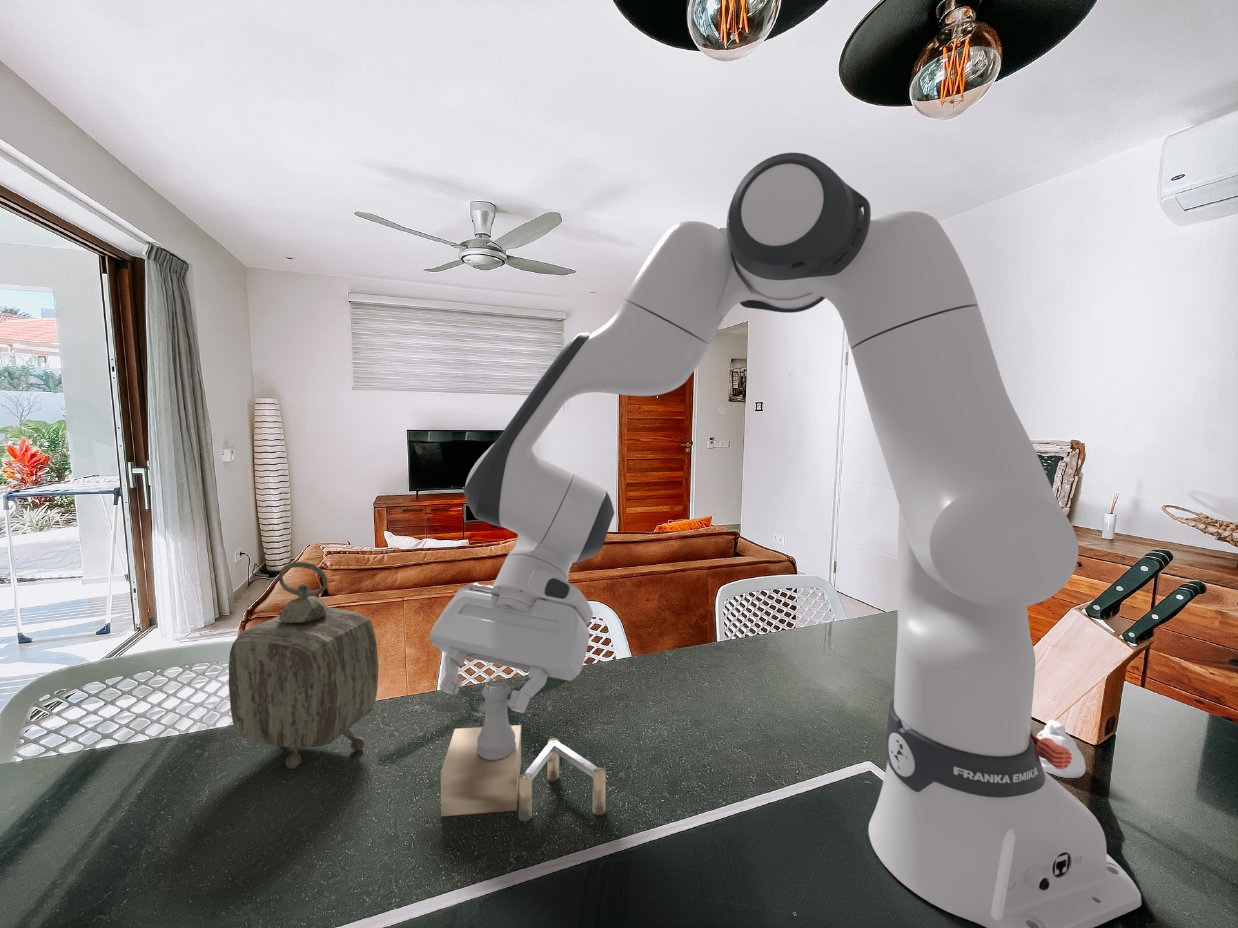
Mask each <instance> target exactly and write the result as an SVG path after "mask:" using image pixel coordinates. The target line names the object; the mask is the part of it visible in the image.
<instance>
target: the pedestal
mask: <svg viewBox="0 0 1238 928" xmlns="http://www.w3.org/2000/svg"><path fill="white" fill-rule="evenodd" d="M482 727H483V726H482ZM482 727H481V726H480V727H465V728H464V727H462V728H454V730H453V734H452V737H451V740H450V742H449V744H448V745H449V746H448V749H447V752H446V754H445V758H444V762H443V765H442V768H441V770H440V809H441V810H440V812H441V813H440V815H441V817H450V816H461V815H462V816H463V815H475V814H477V815H478V814H487V813H488V814H489V813H490V814H491V813H501V812H514V811H517V809H518V801H519V776H520V775H521V766H522V725H521V724H518V725H516V724H515V725H511V727H512V729H513V730H514V733H515V742H516V746H515V749H514V750H513V752H512V753H511V754H510V755H509V756H508V757H506V758H504V759H501V760H497V761H489V760H486V759H483V758H482V757H481V756H480V755H479V754H478V753H477V749H476V748H477V745H478V744H477V739H478V736H479V734H480V732H481V729H482Z"/></svg>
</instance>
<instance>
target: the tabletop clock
mask: <svg viewBox="0 0 1238 928" xmlns="http://www.w3.org/2000/svg"><path fill="white" fill-rule="evenodd" d="M293 568H303V569H308V570H312V571H313V572H315V573H317V574H318V575H319V576H320V577H321V579H322V583H323V584H322V586H321V587H320V588H318V589H315V590H309V585H308V584H306V583H301V584H299V585H298V587H297V588H293V587H291V586H289V585H288V584H286V582H285V581H284V575H285V573H286V572H287V571H288V570H290V569H293ZM278 582H279V584H280V586H281V587H282V588H283V590H284V591H286V592H288V593H290V594H292V595H295V596H298V597H296V598H294V599H291V600H290V601H288V602H287V603H286V604H285V606H284V607H283V609H282V611H281V612H280V614H279V615H278V616H275V617H273V618H271V619H268V620H266V621H263V622H260V623H259V624H255V625H254V626H251V627H249V628H247V629H244V630H241V632H240V633H239V634H238V636H237V637H236V638H235V640H234V642H233V643H232V645H231V648H230V651H229V660H228V692H229V693H228V694H229V704H230V705H229V707H230V713H231V720H232V724H233V727H234V730H235V732H236V733H237V735H239V736H241V737H242V738H245V739H246V740H250V741H253V742H257V743H263V744H265V745H270V746H274V747H275V746H276V747H283V748H292V750H291V754H289V755H288V756H287V758H286V759H285V761H284V762H285V764H284V765H285V766H286V768H287V769H289V770H290V769H291V770H292V769H296V768H297V767H298V766H300V764H301V761H302V757H301V755H300V754H299V753H298V751H299V749H307V748H315V747H322V746H326V745H329V744H331V743H332V742H334V741H335V740H336V739H338V738H339V737H341V735H343V736H344V737H346V738H347V739H348V740H349V741H350V748H351V750H353V751H355V752H357V751H360V750H362V749H363V748H364V746H365V741H366V740H365V738H363V737H362V736H356V737H355V735H354V734H353V732H352V731H351V730H350V728H351V727H353V726H354V725H355V724H357V723H358V722H359V721H361V720H362V719H363V718H364V717H366V716H367V715H368V714H370V713H371V712H372V711H373V708H374V707H375V703H376V699H377V695H378V685H379V658H378V657H379V656H378V647H377V638H376V634H375V629H374V627H373V623H372V622H371V619H369V617H367V616H365V615H363V614H361V613H358V612H355V611H351V610H347V609H341V608H336V607H331V606H327V605H326V603H325V602H324V601H323V600H322V599H320V598H318V597H315V596H317V595H320V594H323V592H324V591H325V590H326V588H327V585H328V582H329V581H328V577H327V575H326V573H325V572H324V570H323V569H322V568H321V567H320V566H317V565H316V564H314V563H311V562H306V561H294V562H293V561H292V562H290V563H287V564H285V565H284V566H283V567H282V568H281V569H280V571H279V574H278Z"/></svg>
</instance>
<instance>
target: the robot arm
mask: <svg viewBox="0 0 1238 928" xmlns="http://www.w3.org/2000/svg"><path fill="white" fill-rule="evenodd" d="M871 210H872V209H871V204H870V201H869V200H868V199H867V197H865V196H863V195H862V193H859V191H857V190H855V189H854V188H853V187H852V186H851V185H849V184H848V183H846V182H845V181H844V180H843V179H842V177H840V176H839V175H838V174H837V173H836V172H835V170H833V169H832V168H831V167H830V166H829V165H827V164H826V163H825V162H823V161H821V160H820V159H818V158H816V157H814V156H812V155H809V154H806V153H802V152H784V153H780V154H776V155H773V156H770V157H768V158H766V159H764V160H762V161H761V162H759V163H758V164H757V165H755V166H754V167H752V169H750V170H749V171H748V172H747V173H746V174H745V176H744V177H743V178H742V179H741V181H740V182H739V183H738V185H737V187H736V188H735V191H734V192H733V195H732V197H731V200H730V201H729V206H728V210H727V215H726V226H725V227H717V226H714V225H712V224H710V223H706V222H703V221H695V220H694V221H693V220H692V221H691V220H690V221H689V220H688V221H687V220H686V221H683V222H679V223H676V224H675V225H673V226H672V227H670V228H669V229H668V230H667V231H666V232H665V234H664V235H663V236H662V237H661V238H660V240H659V241H658V243H657V244H656V245H655V247H654V248H653V250H651V253H650V254H649V256H648V257H647V258H646V260H645V261H644V263H643V265H642V266H641V267H640V269H639V271H638V272H637V274H636V277H635V278H634V279H633V281H632V283H631V285H630V287H629V289H628V291H627V293H626V294H625V297H624V298H623V299H624V300H622V302H621V303H620V306H619V307H618V309H617V310H616V312H615V314H613V316H612V317H611V318H610V319H609V320H608V321H607V322H606V323H604V324H603V325H602V326H601V327H599V328H598V329H596V330H595V331H593V332H586V331H585V332H579V333H578V334H576V335H575V336H574V337H573V338H571V340H570V341H569V342H568V343H567V344H566V345H565V346H564V347H563V348H562V350H561V351H560V352H559V353H558V355H557V356H556V358H555V359H554V360H553V361H552V363H551V364H550V366H549V367H548V369H546V371H545V372H544V373H543V375H542V376H541V378H540V379H539V381H538V382H537V383H536V385H535V387H533V389H532V390H531V392H530V393H529V394H528V396H527V398H526V399H525V400H524V402H523V403H522V404H521V406H520V407H519V408H518V410H517V411H516V413H515V414H514V416H513V417H512V418H511V420H510V421H509V422H508V424H507V426H506V427H505V428H504V430H503V431H502V432H501V434H500V435H499V437H498V438H497V439H496V440H495V442H494V443H493V444H491V445H490V446H489V447H488V449H487V450H485V451H484V452H483V454H482V455H481V456H480V457H479V458H478V459H477V460H476V462H475V463H474V465H473V466H472V468H471V469H470V472H469V473H468V476H467V478H466V481H465V485H464V489H463V494H464V498H465V501H466V503H467V505H468V507H469V509H470V511H471V513H472V514H473V516H474V518H475V519H476V520H479V521H482V522H485V523H488V524H491V525H493V526H497V527H499V528H505V529H507V530H509V531H511V532H513V533H515V534H517V541H516V544H515V545H514V547H513V548H512V549H511V551H510V552H509V553H508V554H507V555H506V557H505V560H504V562H503V564H502V566H501V568H500V570H499V572H498V575H497V577H496V579H495V580H494V582H493V584H492V585H488V584H486V585H485V584H480V583H475V582H472V583H471V582H470V583H469V584H468V585H466V586H465V585H464V586H463V587H461V588H458V590H457V591H456V592H455V594H454V596H453V598H452V599H451V600H450V601H449V602H448V604H447V605H446V606H445V608H444V609H443V611H442V612H441V614H440V616H439V617H438V619H437V620H436V621H435V623H434V625H433V627H432V628H431V631H430V633H429V634H430V637H429V638H430V643H431V644H432V645H433V646H434V647H436V648H437V649H438V650H440V651H441V652H443V653H446V655H445V665H444V666H445V669H444V670H445V671H444V672H445V675H444V677H443V679H442V681H441V683H440V687H439V688H440V690H441V691H442V692H444V693H446V694H451V695H454V696H455V695H457V694H458V692H459V688H461V687H462V684H463V680H462V679H461V678H459V667H460V666H463V665H464V664H465V662H466V659H467V658H469V659H473V660H477V661H482V662H486V663H491V664H494V665H495V664H496V665H499V666H504V667H507V668H513V669H517V670H521V671H525V672H528V674H527V676H528V678H530V679H528V681H527V682H526V683H525V684H524V685H523V686H522V687H521V688H520V690H514V689H512V692H511V694H510V698H509V699H508V706H507V708H509V709H510V710H511V711H514V712H518V713H521V714H524V713H525V712H526V710H527V707H528V705H529V702H530V701H531V700H530V699H532V698H533V697H534V696H535V695H536V694H537V693H538V692H539V691H540V690H541V689H543V687H545V685H546V683H547V681H548V680H547V679H548V677H550V678H555V679H560V680H562V681H563V680H564V681H569V682H571V681H572V680H574V679H575V678H576V677H577V676H579V675H580V673H581V671H582V669H583V665H584V661H585V659H586V654H587V650H588V646H589V640H590V631H589V627H588V626H587V625H588V624H589V623H590V622H591V620H592V618H593V615H594V611H593V608H592V606H591V605H590V603H589V602H588V600H587V598H586V597H585V595H584V594H583V593H582V592H581V591H580V589H579V588H578V587H577V586H576V585H574V584H573V583H570V582H569V575H570V574H569V573H570V569H571V566H572V565H573V563H575V564H578V563H581V562H583V561H587V560H588V559H591V558H593V557H596V556H597V555H598V554H599V553H600V551H602V548H603V547H604V544H605V540H606V538H607V536H608V532H609V529H610V526H611V523H612V520H613V518H614V516H615V509H614V505H613V502H612V499H611V497H610V494H609V493H608V491H607V490H605V489H603V488H602V487H601V486H599V485H597V484H596V483H593V482H591V481H590V480H587V479H585V478H583V477H581V476H579V475H576V474H574V473H571V472H569V471H567V470H565V469H563V468H561V467H559V466H556V465H555V464H553V463H550V462H549V461H547V460H544V459H542V458H540V457H538V456H537V455H536V454H535V453H534V452H533V447H534V445H535V444H536V442H537V441H538V440H539V438H540V437H541V436H542V434H543V433H544V431H545V430H546V429H547V427H548V426H549V424H551V422H552V421H553V419H555V416H556V415H557V414H558V413H559V412H560V410H561V408H562V407H563V406H564V405H565V404H566V403H567V401H569V400H571V398H574V397H576V396H579V395H582V394H588V393H589V394H590V393H603V394H605V393H606V394H613V395H614V394H615V395H622V396H624V395H625V396H633V397H650V396H653V397H654V396H659V395H660V396H661V395H664V394H666V393H669V392H672V391H675V390H676V389H678V388H679V387H681V386H682V385H684V384H685V383H686V382H687V381H688V379H689V378H690V377H691V375H692V374H693V373H694V371H695V370H696V369H697V367H698V365H699V364H700V362H701V360H702V359H703V357H704V355H705V353H706V352H707V350H708V349H709V345H711V342H712V341H713V338H714V337H715V335H716V333H717V331H718V329H719V327H720V325H721V324H722V323H723V321H724V319H725V317H726V316H727V315H728V313H729V312H730V311H731V310H732V309H733V308H734V307H735V306H737V305H738V304H739V305H740V306H742V307H744V308H747V309H756V310H761V311H762V310H764V311H768V312H769V311H771V312H775V313H783V314H784V313H788V314H792V313H800V312H805V311H807V310H810V309H812V308H814V307H816V306H818V305H819V304H820V303H822V302H823V301H824V300H828V301H829V302H830V303H831V304H832V305H833V306H834V308H835V310H836V311H837V312H838V315H839V316H840V318H841V320H842V322H843V326H844V329H845V332H846V335H847V340H848V344H849V347H850V350H851V355H852V357H853V360H854V365H855V368H856V371H857V374H858V377H859V378H858V379H859V381H860V384H861V389H862V392H863V395H864V398H865V402H866V405H867V409H868V412H869V415H870V418H871V422H872V425H873V429H874V432H875V433H876V438H877V439H878V443H879V446H880V449H881V452H882V455H883V458H884V461H885V464H886V467H887V471H888V474H889V477H890V479H891V483H892V486H893V489H894V493H895V495H896V498H897V502H898V505H899V507H898V528H897V529H898V531H897V532H898V533H897V534H898V535H897V639H896V655H895V656H896V657H895V672H894V673H895V674H894V693H893V698H892V699H891V700H890V701H889V705H888V712H887V725H886V747H887V748H886V751H887V764H886V767H885V768H886V769H885V774H884V778H883V780H882V781H883V782H882V787H881V789H880V793H879V795H878V796H879V797H878V799H877V803H876V805H875V809H874V811H873V813H872V815H871V816H870V817H871V818H870V820H869V823H868V837H869V841H870V844H871V846H872V849H873V850H874V852H875V853H876V856H878V858H879V860H880V862H881V863H882V865H884V866H885V867H886V868H887V870H888V871H889V872H890V873H891V874H892V875H893V876H894V877H895V878H896V879H897V880H898V881H899V882H901V883H902V884H903V885H904V886H905V887H907V888H908V889H910V890H911V892H913V893H914V894H916V895H917V896H919V897H920V898H922V899H923V900H926V901H927V902H928V903H930V904H932V905H934V906H936V907H938V908H940V909H942V910H943V911H946V912H947V913H950V914H952V915H955V916H957V917H959V918H963V919H965V920H968V921H970V922H972V923H973V922H974V923H976V924H978V925H980V926H982V927H985V928H1095V927H1098V926H1101V925H1102V924H1105V923H1108V922H1109V921H1111V920H1114V919H1115V918H1118V917H1120V916H1122V915H1126V914H1127V913H1130V912H1132V911H1134V910H1136V909H1138V908H1139V907H1141V906H1142V894H1141V892H1140V890H1139V889H1138V887H1137V885H1136V883H1134V881H1133V880H1132V878H1131V877H1130V876H1129V875H1128V874H1127V871H1125V869H1123V868H1122V867H1121V866H1120V864H1118V863H1117V861H1115V860H1114V858H1112V857H1111V856H1110V855H1109V854H1108V853H1107V840H1106V836H1105V832H1104V830H1103V828H1102V825H1101V824H1100V822H1099V820H1098V819H1097V817H1096V816H1095V815H1094V813H1092V811H1090V809H1088V808H1087V806H1086V805H1085V804H1083V803H1082V802H1081V801H1080V799H1078V798H1077V797H1076V796H1075V795H1074V794H1072V793H1071V792H1070V791H1068V789H1066V788H1065V787H1064V786H1063V785H1061V783H1059V782H1058V781H1057V780H1056V779H1055V778H1053V776H1052V775H1050V774H1048V773H1046V772H1045V771H1044V770H1043V767H1042V764H1041V761H1040V758H1039V756H1040V757H1041V758H1044V759H1046V760H1047V761H1048V762H1049V763H1050V764H1051V765H1053V766H1054V767H1055V768H1057V769H1065V768H1067V767H1068V764H1071V761H1070V760H1072V757H1071V756H1072V754H1071V753H1070V752H1069V750H1068V749H1066V748H1065V747H1063V746H1061V745H1058V744H1056V743H1055V742H1054V741H1053V740H1052V739H1050V738H1042V739H1039V738H1037V735H1034V734H1033V733H1034V732H1033V731H1032V730H1031V726H1032V713H1033V700H1034V686H1035V685H1034V684H1035V676H1036V673H1035V672H1036V654H1035V649H1034V646H1033V642H1032V637H1031V631H1030V625H1029V624H1030V623H1029V615H1028V608H1027V607H1029V606H1033V605H1038V604H1039V603H1041V602H1044V601H1046V600H1048V599H1050V598H1052V597H1053V596H1054V595H1056V594H1057V593H1059V592H1060V591H1061V590H1063V588H1064V587H1065V586H1066V585H1067V583H1068V582H1069V581H1070V579H1071V578H1072V576H1073V574H1074V572H1075V569H1076V567H1077V565H1078V561H1079V560H1078V559H1079V544H1078V543H1079V542H1078V539H1077V534H1076V532H1075V529H1074V526H1073V525H1072V523H1071V522H1070V520H1069V518H1068V517H1067V516H1068V515H1066V513H1065V511H1064V510H1063V509H1062V507H1061V504H1060V503H1059V501H1058V500H1057V497H1056V495H1055V492H1054V490H1053V487H1052V485H1051V483H1050V480H1049V478H1048V476H1047V474H1046V471H1045V470H1044V467H1043V464H1042V462H1041V460H1040V458H1039V456H1038V454H1037V451H1036V450H1035V448H1034V445H1033V443H1032V441H1031V439H1030V437H1029V435H1028V433H1027V431H1026V429H1025V427H1024V425H1023V423H1022V421H1021V420H1020V418H1019V416H1018V413H1017V412H1016V410H1015V408H1014V406H1013V404H1012V402H1011V399H1010V397H1009V394H1008V392H1007V391H1006V387H1005V385H1004V382H1003V379H1002V376H1001V373H1000V370H999V366H998V363H997V359H996V357H995V354H994V351H993V347H992V345H991V341H990V338H989V333H988V332H987V328H986V325H985V322H984V318H983V316H982V312H981V310H980V307H979V302H978V299H977V297H976V293H975V291H974V288H973V285H972V284H971V281H970V277H969V275H968V273H967V271H966V269H965V266H964V264H963V263H962V260H961V258H960V256H959V254H958V252H957V251H956V248H955V247H954V245H953V243H952V241H951V240H950V238H949V236H948V235H947V233H946V232H945V230H944V228H943V227H942V225H941V223H940V222H939V221H938V220H937V219H936V218H935V217H933V216H931V215H930V214H928V213H925V212H922V211H917V210H916V211H915V210H909V211H907V210H906V211H900V212H899V211H898V212H894V213H890V214H886V215H884V216H881V217H878V218H876V219H871V217H872V214H871V212H872V211H871ZM459 665H460V666H459Z"/></svg>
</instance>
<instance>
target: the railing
mask: <svg viewBox="0 0 1238 928" xmlns="http://www.w3.org/2000/svg"><path fill="white" fill-rule="evenodd" d="M546 742H547V745H545V747H543V749H542V750H541V752H540V753H539V755H538V756H537V757H536V758H535V759H534V760H533V762H532V763H531V764H530V765H529V767H528V768H527V769H526V771H525V772H523V773H520V776H519V790H518V819H519V821H521V822H528V821H530V820H531V819H532V818H533V817H532V816H533V812H532V811H533V810H532V809H533V780H534V779H535V777H536V776H537V775H538V774H539V772H540V771H541V770H542V768H543V767H544V765H546V763H547V767H546V769H547V771H546V773H547V774H546V775H547V780H548V781H549V782H557V780H559V778H560V757H561V758H563V759H565V760H566V762H568V763H570V764H572V765H573V766H575V767H576V768H577V769H579V770H580V771H582V772H584V773H585V774H586V775H588V776H590V777H591V778H592V813H593V814H594V815H595V816H602V815H604V814H605V813H606V788H607V787H606V780H607V779H606V777H607V776H606V774H607V773H606V772H607V771H606V769H605V768H603V767H598V766H596V765H595V764H593V763H592V762H591V761H590V760H587V759H585V758H584V757H583V756H582V755H580V754H578V753H577V752H575V751H574V750H572V749H571V748H569V747H568V746H566V745H565V744H563V743H561V742H560V739H559V738H558V737H557V738H556V737H551V738H549V739H548V740H547V741H546Z"/></svg>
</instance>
